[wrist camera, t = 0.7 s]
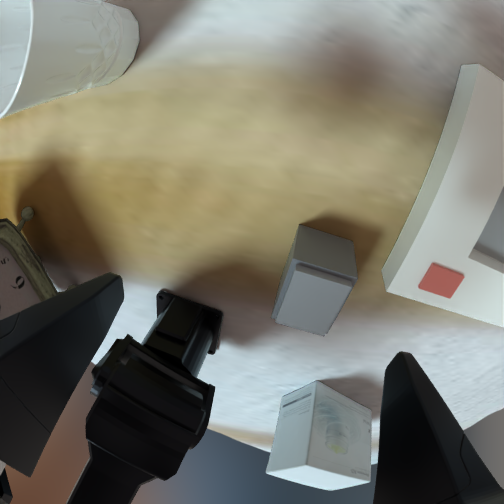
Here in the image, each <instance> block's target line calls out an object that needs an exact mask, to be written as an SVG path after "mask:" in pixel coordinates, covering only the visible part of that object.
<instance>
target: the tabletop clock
mask: <svg viewBox="0 0 504 504" xmlns="http://www.w3.org/2000/svg"><path fill="white" fill-rule="evenodd" d="M33 215H34V212H33V209H32V208H31V207H25V208H24V209H23V210H22V212H21V217H22V220H21V221H20V223H19V224H18V225H17V227H16V226H15V225H14V224H13V223H12V222H11V221H10V220H8V219H7V218H6V219H0V320H2V319H4V318H6V317H8V316H11V315H13V314H15V313H17V312H21V311H22V310H24V309H26V308H28V307H31V306H33V305H35V304H37V303H39V302H42V301H44V300H46V299H48V298H51V297H53V296H55V295H58V294H60V293H62V292H57V290H56V288H55V287H54V285H53V283H52V281H51V280H50V278H49V276H48V274H47V273H46V271H45V269H44V267H43V265H42V263H41V259H40V257H39V256H37V255H35V253H34V252H33V250H32V248H31V247H30V245H29V244H28V242H27V241H26V239H25V238H24V236H23V235H22V233H21V232H20V231H21V229H22V227H23V225H24V223H25V221H29V220H31V219H32V217H33ZM74 287H76V285H71V286H69V287H68V289H67V290H69V289H71V288H74ZM63 292H64V291H63Z"/></svg>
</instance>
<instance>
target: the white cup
mask: <svg viewBox="0 0 504 504" xmlns="http://www.w3.org/2000/svg"><path fill="white" fill-rule="evenodd" d="M139 40H140V39H139V27H138V21H137V20H136V18H135V17H134V16H133V14H132V13H131V11H130V10H129V9H126V8H123V7H120V6H117V5H114V4H110V3H107V2H105V1H103V0H0V119H2V118H4V117H7V116H9V115H12V114H14V113H17V112H20V111H22V110H25V109H28V108H31V107H34V106H37V105H40V104H43V103H46V102H50V101H53V100H55V99H58V98H61V97H64V96H68V95H72V94H75V93H78V92H80V91H83V90H85V89H89V88H94V87H99V86H104V85H108V84H109V83H111V82H112V81H114V80H115V79H117V78H118V77H120V76H122V75H123V73H124V72H125V70H126V69H127V68H128V66H129V65H130V64H131V62H132V61H133V59H134V57H135V53H136V50H137V47H138V44H139Z"/></svg>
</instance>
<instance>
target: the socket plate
mask: <svg viewBox="0 0 504 504" xmlns="http://www.w3.org/2000/svg"><path fill="white" fill-rule="evenodd" d="M381 271H382V275H383V280H384V284H385V289H386V292H389V293H393V294H396V295H399V296H402V297H406V298H409V299H412V300H416V301H419V302H422V303H425V304H429V305H432V306H435V307H438V308H442V309H445V310H448V311H451V312H455V313H458V314H461V315H465V316H468V317H471V318H474V319H478V320H481V321H484V322H487V323H491V324H494V325H497V326H500V327H504V81H503V80H502V79H500V78H499V77H498V76H496V75H495V74H493V73H492V72H491V71H489V70H488V69H486V68H485V67H483V66H482V65H481V64H467V65H461V69H460V73H459V77H458V81H457V85H456V89H455V92H454V96H453V99H452V103H451V106H450V109H449V113H448V116H447V119H446V122H445V125H444V128H443V131H442V134H441V137H440V140H439V143H438V146H437V148H436V151H435V154H434V157H433V159H432V162H431V164H430V167H429V170H428V172H427V175H426V177H425V180H424V182H423V184H422V187H421V189H420V191H419V194H418V196H417V198H416V201H415V203H414V205H413V207H412V210H411V212H410V214H409V216H408V218H407V220H406V223H405V225H404V227H403V229H402V231H401V233H400V235H399V237H398V239H397V241H396V243H395V245H394V247H393V249H392V251H391V253H390V255H389V257H388V259H387V261H386V262H385V264H384V266H383V268H382V270H381Z"/></svg>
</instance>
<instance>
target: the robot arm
mask: <svg viewBox="0 0 504 504" xmlns="http://www.w3.org/2000/svg"><path fill="white" fill-rule="evenodd" d="M162 296H163V297H162ZM123 300H124V289H123V282H122V278H121V276H120V275H117V274H114V273H111V272H110V273H107V274H104V275H102V276H100V277H97V278H95V279H92V280H90V281H88V282H85V283H83V284H81V285H78V286H76V287H74V288H71V289H69V290H67V291H64V292H62V293H60V294H58V295H55V296H53V297H51V298H48V299H46V300H44V301H42V302H39V303H37V304H35V305H33V306H31V307H28V308H26V309H24V310H22V311H21V312H17V313H15V314H13V315H11V316H8V317H6V318H4V319H2V320H0V504H10V502H11V500H12V498H13V496H12V493H11V489H10V486H9V482H8V478H7V475H6V471H5V466H6V464H7V465H9V466H11V467H12V468H14V469H16V470H17V471H19V472H21V473H23V474H24V475H26V476H28V477H31V475H32V473H33V471H34V469H35V467H36V464H37V462H38V460H39V458H40V456H41V454H42V452H43V449H44V447H45V445H46V443H47V441H48V439H49V437H50V435H51V432H52V431H53V429H54V427H55V425H56V423H57V421H58V419H59V417H60V415H61V413H62V412H63V410H64V408H65V406H66V404H67V402H68V400H69V399H70V397H71V395H72V393H73V391H74V390H75V388H76V386H77V384H78V382H79V381H80V379H81V377H82V376H83V374H84V372H85V370H86V369H87V367H88V365H89V364H90V362H91V360H92V359H93V357H94V355H95V354H96V352H97V350H98V349H99V347H100V345H101V344H102V342H103V340H104V339H105V337H106V335H107V333H108V331H109V329H110V327H111V325H112V322H113V320H114V318H115V316H116V314H117V312H118V310H119V308H120V306H121V304H122V302H123ZM216 315H217V316H216ZM222 319H223V313H222V312H221V311H218V310H215V309H212V308H209V307H207V306H204V305H201V304H198V303H195V302H192V301H189V300H186V299H183V298H181V297H178V296H175V295H172V294H169V293H167V292H164V291H159V292H158V294H157V319H156V321H155V322H154V324H153V326H152V327H151V329H150V330H149V332H148V334H147V335H146V337H145V338H144V340H143V342H142V343H141V344H140V343H139V342H137V341H136V340H134V339H133V337H132V336H130V335H129V334H127V336H126V337H125V338H124V339H116V341H115V342H114V344H113V345H112V346H111V348H110V349H109V351H108V352H107V353H106V354H105V356H104V357H103V358H102V359H101V360H100V361H99V362H98V363H97V365H96V366H95V367H94V368H93V370H92V372H91V373H92V377H93V383H92V385H93V387H92V389H91V391H90V394H91V395H93V396H94V397H96V398H97V399H96V401H95V403H94V404H93V406H92V408H91V410H90V412H89V413H88V416H87V417H86V439H87V440H88V446H89V452H90V457H89V459H88V461H87V463H86V465H85V467H84V469H83V471H82V473H81V475H80V476H79V479H78V480H77V482H76V484H75V486H74V488H73V490H72V492H71V494H70V496H69V498H68V500H67V502H66V504H131V502H132V500H133V498H134V497H135V495H136V493H137V491H138V489H139V488H140V486H141V485H143V484H145V483H147V482H150V481H152V480H154V479H156V478H159V479H161V480H164V481H165V480H167V479H169V478H170V477H172V476H173V475H175V474H176V473H177V471H178V469H179V467H180V464H181V462H182V460H183V458H184V456H185V454H186V452H187V451H188V449H193V448H194V447H195V446H196V445H197V444H198V443H199V441H200V440H201V438H202V437H203V435H204V433H205V431H206V429H207V426H208V423H209V418H210V413H211V408H212V403H213V397H214V392H215V386H213V385H211V384H207V383H205V382H203V381H202V380H200V379H198V378H197V376H198V374H199V371H200V369H201V367H202V364H203V362H204V360H205V357H206V355H207V353H208V354H211V355H213V354H215V352H216V349H217V344H218V339H219V334H220V329H221V324H222ZM373 504H504V489H502V488H501V487H500V485H499V484H498V483H497V481H496V480H495V478H494V477H493V476H492V474H491V473H490V471H489V470H488V468H487V467H486V465H485V464H484V463H483V461H482V460H481V458H480V457H479V455H478V454H477V452H476V451H475V449H474V448H473V446H472V444H471V443H470V441H469V440H468V438H467V436H466V435H465V434H464V431H463V430H462V428H461V427H460V425H459V423H458V422H457V420H456V419H455V417H454V415H453V414H452V412H451V411H450V409H449V408H448V406H447V405H446V403H445V402H444V400H443V399H442V397H441V396H440V394H439V393H438V391H437V390H436V388H435V387H434V385H433V384H432V382H431V381H430V379H429V378H428V376H427V375H426V374H425V372H424V371H423V369H422V368H421V366H420V365H419V364H418V362H417V361H416V359H415V358H414V357H413V355H412V354H411V353H408V352H402V351H401V352H399V353H397V355H396V356H395V357H394V358H393V360H392V361H391V362H390V363H389V365H388V366H387V368H386V370H385V377H384V387H383V396H382V405H381V414H380V436H379V453H378V466H377V476H376V485H375V493H374V500H373Z"/></svg>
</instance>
